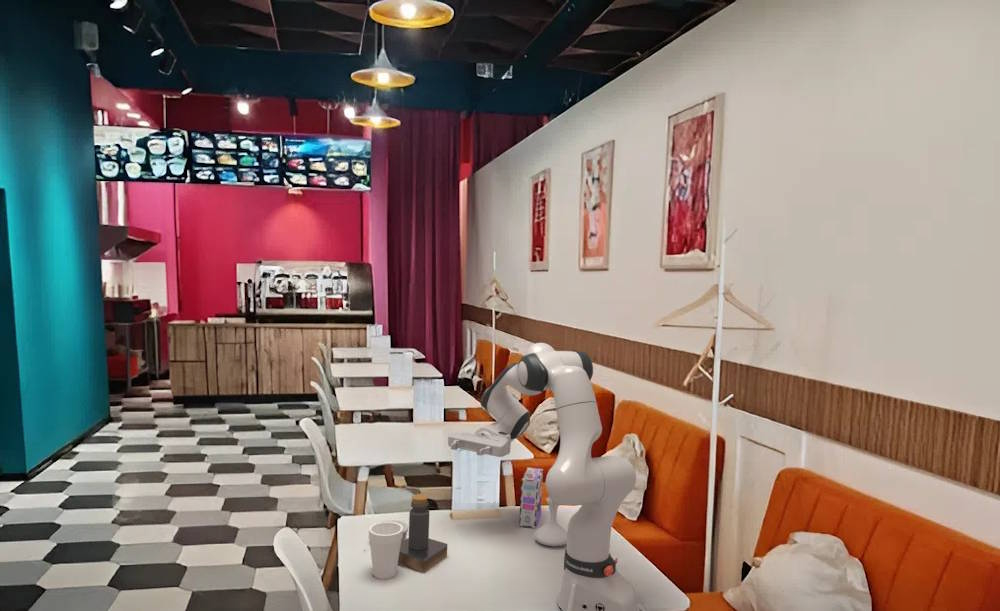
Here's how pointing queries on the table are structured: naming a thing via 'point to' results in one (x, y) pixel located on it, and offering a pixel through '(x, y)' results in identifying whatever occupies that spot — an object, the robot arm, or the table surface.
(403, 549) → the podium
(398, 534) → the foam cup
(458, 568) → the table surface
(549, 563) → the table surface
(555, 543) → the grey vase
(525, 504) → the candy box
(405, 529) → the ramekin
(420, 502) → the bottle
